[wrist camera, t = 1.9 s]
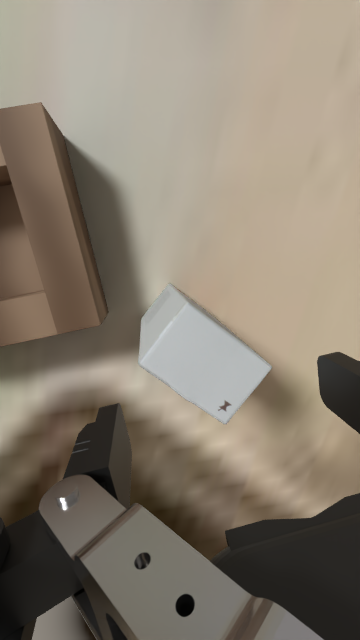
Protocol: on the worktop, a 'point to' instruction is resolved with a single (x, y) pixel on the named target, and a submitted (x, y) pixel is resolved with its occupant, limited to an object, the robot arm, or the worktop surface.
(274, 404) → the worktop surface
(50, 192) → the holder
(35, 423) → the worktop surface
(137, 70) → the worktop surface
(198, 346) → the skincare box
